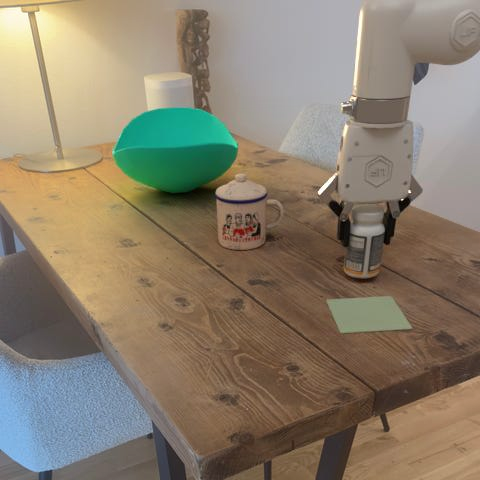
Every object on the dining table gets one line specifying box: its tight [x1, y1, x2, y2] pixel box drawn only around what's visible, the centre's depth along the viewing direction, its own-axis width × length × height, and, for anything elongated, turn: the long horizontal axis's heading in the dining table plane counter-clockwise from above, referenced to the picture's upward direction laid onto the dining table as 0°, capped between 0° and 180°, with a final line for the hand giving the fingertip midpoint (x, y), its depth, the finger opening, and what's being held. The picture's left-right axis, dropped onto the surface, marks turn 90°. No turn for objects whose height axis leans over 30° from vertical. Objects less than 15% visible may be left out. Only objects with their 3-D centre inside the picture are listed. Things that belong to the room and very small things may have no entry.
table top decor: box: [111, 106, 239, 194], centre depth 125 cm, size 40×28×13 cm
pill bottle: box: [343, 203, 385, 279], centre depth 87 cm, size 6×6×10 cm
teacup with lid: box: [214, 173, 284, 251], centre depth 99 cm, size 12×9×12 cm
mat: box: [325, 295, 414, 335], centre depth 81 cm, size 10×10×1 cm
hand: (364, 241), depth 87 cm, fingers closed on pill bottle, 5 cm apart
